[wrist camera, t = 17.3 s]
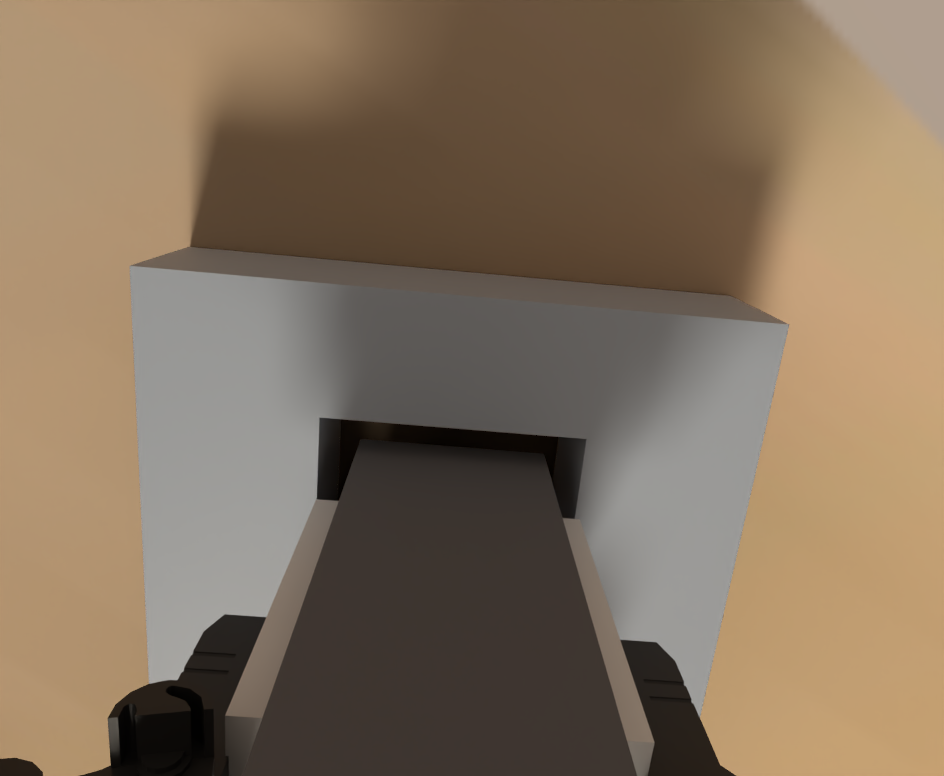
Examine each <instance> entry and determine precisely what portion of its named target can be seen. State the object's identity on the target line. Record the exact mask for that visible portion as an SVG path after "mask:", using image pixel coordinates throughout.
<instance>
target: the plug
mask: <svg viewBox="0 0 944 776" xmlns="http://www.w3.org/2000/svg"><path fill="white" fill-rule="evenodd" d="M242 776H637V774H636V770H635V767H634V763H633V760H632V756H631V753H630V749H629V746H628V742H627V739H626V736H625V732H624V729H623V725H622V722H621V718H620V715H619V711H618V708H617V704H616V701H615V698H614V694H613V691H612V687H611V684H610V680H609V677H608V673H607V670H606V666H605V663H604V660H603V656H602V653H601V649H600V646H599V642H598V639H597V635H596V632H595V628H594V625H593V622H592V618H591V615H590V611H589V608H588V604H587V601H586V597H585V594H584V590H583V587H582V584H581V580H580V577H579V573H578V570H577V566H576V563H575V559H574V556H573V552H572V549H571V546H570V542H569V539H568V535H567V532H566V528H565V525H564V521H563V518H562V514H561V511H560V508H559V504H558V501H557V497H556V494H555V490H554V487H553V483H552V480H551V476H550V473H549V470H548V466H547V463H546V459H545V456H544V454H542V453H529V452H517V451H504V450H492V449H480V448H467V447H455V446H442V445H430V444H417V443H405V442H392V441H380V440H368V439H361V440H360V442H359V445H358V448H357V451H356V454H355V457H354V459H353V462H352V465H351V468H350V471H349V474H348V476H347V479H346V482H345V485H344V488H343V491H342V493H341V496H340V499H339V502H338V505H337V508H336V510H335V513H334V516H333V519H332V522H331V525H330V527H329V530H328V533H327V536H326V539H325V542H324V544H323V547H322V550H321V553H320V556H319V559H318V562H317V564H316V567H315V570H314V573H313V576H312V579H311V581H310V584H309V587H308V590H307V593H306V596H305V598H304V601H303V604H302V607H301V610H300V613H299V615H298V618H297V621H296V624H295V627H294V630H293V632H292V635H291V638H290V641H289V644H288V647H287V649H286V652H285V655H284V658H283V661H282V664H281V666H280V669H279V672H278V675H277V678H276V681H275V683H274V686H273V689H272V692H271V695H270V698H269V700H268V703H267V706H266V709H265V712H264V715H263V717H262V720H261V723H260V726H259V729H258V732H257V735H256V737H255V740H254V743H253V746H252V749H251V752H250V754H249V757H248V760H247V763H246V766H245V769H244V771H243V774H242Z"/></svg>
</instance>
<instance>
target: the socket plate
mask: <svg viewBox="0 0 944 776" xmlns="http://www.w3.org/2000/svg"><path fill="white" fill-rule="evenodd" d="M130 283H131V305H132V326H133V348H134V369H135V391H136V412H137V434H138V456H139V477H140V499H141V520H142V542H143V563H144V585H145V606H146V628H147V649H148V671H149V684H151V683H156V682H161V681H166V680H178V678H179V676H180V674H181V673H182V672H183V671H184V667H185V665H186V663H187V661H188V660H189V658H190V656H191V655H193V650H194V649H195V647H196V645H197V643H198V641H199V639H200V637H201V636H202V634H203V632H204V631H205V630H206V629H207V628H208V627H210V626H211V625H212V624H213V623H215V622H216V621H217V620H218V619H220V618H221V617H222V616H223V615H225V614H228V615H242V616H257V617H267V615H268V612H269V610H270V608H271V605H272V603H273V600H274V598H275V596H276V593H277V591H278V589H279V586H280V584H281V581H282V579H283V577H284V574H285V572H286V570H287V567H288V565H289V562H290V560H291V558H292V555H293V553H294V551H295V548H296V546H297V543H298V541H299V539H300V536H301V534H302V532H303V529H304V527H305V524H306V522H307V520H308V517H309V515H310V513H311V510H312V508H313V505H314V503H315V501H316V499H319V500H332V501H338V483H339V459H340V436H341V419H344V420H357V421H369V422H382V423H394V424H406V425H419V426H431V427H443V428H456V429H468V430H481V431H493V432H505V433H518V434H530V435H543V436H555V437H559V438H558V445H557V452H556V460H555V467H554V474H553V481H552V483H553V487H554V490H555V494H556V497H557V501H558V504H559V508H560V511H561V514H562V518H568V519H580V521H581V524H582V527H583V530H584V533H585V536H586V539H587V542H588V545H589V548H590V551H591V554H592V557H593V560H594V563H595V566H596V569H597V572H598V575H599V578H600V581H601V584H602V587H603V590H604V593H605V596H606V599H607V602H608V605H609V608H610V611H611V614H612V617H613V620H614V623H615V626H616V629H617V632H618V635H619V638H620V640H632V641H647V642H657V643H658V644H659V645H660V646H661V647H662V648H663V649H664V650H665V651H666V652H667V653H668V654H669V655H670V656H671V657H672V658H673V659H674V660H675V662H676V664H677V666H678V669H679V671H680V673H681V676H682V678H683V680H684V686H686V687H687V690H688V692H689V694H690V697H691V699H692V700H691V702H692V703H693V704H694V706H695V708H696V710H697V713H698V715H699V717H700V715H701V710H702V706H703V702H704V697H705V693H706V688H707V684H708V680H709V675H710V671H711V666H712V662H713V658H714V653H715V649H716V644H717V640H718V636H719V631H720V627H721V622H722V618H723V614H724V609H725V605H726V600H727V596H728V592H729V587H730V583H731V578H732V574H733V570H734V565H735V561H736V556H737V552H738V548H739V543H740V539H741V534H742V530H743V526H744V521H745V517H746V512H747V508H748V504H749V499H750V495H751V490H752V486H753V482H754V477H755V473H756V468H757V464H758V460H759V455H760V451H761V446H762V442H763V438H764V433H765V429H766V424H767V420H768V415H769V411H770V407H771V402H772V398H773V393H774V389H775V385H776V380H777V376H778V371H779V367H780V363H781V358H782V354H783V349H784V345H785V341H786V336H787V332H788V327H789V324H787V323H785V322H783V321H781V320H779V319H777V318H775V317H773V316H771V315H769V314H767V313H765V312H763V311H761V310H758V309H756V308H754V307H752V306H750V305H748V304H746V303H744V302H742V301H740V300H738V299H736V298H734V297H732V296H726V295H715V294H704V293H693V292H682V291H671V290H660V289H649V288H638V287H627V286H616V285H605V284H594V283H583V282H572V281H561V280H550V279H539V278H528V277H517V276H506V275H495V274H484V273H473V272H462V271H451V270H440V269H429V268H418V267H407V266H396V265H385V264H374V263H363V262H351V261H340V260H329V259H318V258H307V257H296V256H285V255H274V254H263V253H252V252H241V251H230V250H219V249H208V248H197V247H187V248H184V249H181V250H178V251H175V252H171V253H168V254H165V255H162V256H159V257H156V258H153V259H149V260H146V261H143V262H140V263H137V264H134V265H131V266H130Z"/></svg>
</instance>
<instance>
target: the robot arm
mask: <svg viewBox="0 0 944 776" xmlns="http://www.w3.org/2000/svg"><path fill="white" fill-rule="evenodd" d="M338 502H339V501H332V500H319V499H316V501H315V503H314V505H313V508H312V510H311V513H310V515H309V517H308V520H307V522H306V524H305V527H304V529H303V532H302V534H301V536H300V539H299V541H298V543H297V546H296V548H295V551H294V553H293V555H292V558H291V560H290V562H289V565H288V567H287V570H286V572H285V574H284V577H283V579H282V581H281V584H280V586H279V589H278V591H277V593H276V596H275V598H274V600H273V603H272V605H271V608H270V610H269V612H268V615H267V617H257V616H242V615H228V614H225V615H223V616H222V617H221V618H220V619H218V620H217V621H216V622H215V623H213V624H212V625H211V626H210V627H208V628H207V629H206V630H205V631H204V632H203V634H202V636H201V637H200V639H199V641H198V643H197V645H196V647H195V649H194V650H193V655H191V656H190V658H189V660H188V661H187V663H186V665H185V667H184V671H183V672H182V673H181V674H180V676H179V678H178V680H166V681H161V682H156V683H151V684H148V685H146V686H143V687H141V688H139V689H137V690H135V691H132V692H130V693H129V694H128V695H127V696H125V697H124V698H123V699H122V700H121V701H119V702H118V703H117V704H116V705H115V707H114V709H113V710H112V712H111V714H110V715H109V717H108V729H109V744H110V758H111V766H109V767H106V768H104V769H102V770H99V771H96V772H92V773H88V774H85V775H80V776H242V774H243V771H244V769H245V766H246V763H247V760H248V757H249V754H250V752H251V749H252V746H253V743H254V740H255V737H256V735H257V732H258V729H259V726H260V723H261V720H262V717H263V715H264V712H265V709H266V706H267V703H268V700H269V698H270V695H271V692H272V689H273V686H274V683H275V681H276V678H277V675H278V672H279V669H280V666H281V664H282V661H283V658H284V655H285V652H286V649H287V647H288V644H289V641H290V638H291V635H292V632H293V630H294V627H295V624H296V621H297V618H298V615H299V613H300V610H301V607H302V604H303V601H304V598H305V596H306V593H307V590H308V587H309V584H310V581H311V579H312V576H313V573H314V570H315V567H316V564H317V562H318V559H319V556H320V553H321V550H322V547H323V544H324V542H325V539H326V536H327V533H328V530H329V527H330V525H331V522H332V519H333V516H334V513H335V510H336V508H337V505H338ZM563 521H564V525H565V528H566V532H567V535H568V539H569V542H570V546H571V549H572V552H573V556H574V559H575V563H576V566H577V570H578V573H579V577H580V580H581V584H582V587H583V590H584V594H585V597H586V601H587V604H588V608H589V611H590V615H591V618H592V622H593V625H594V628H595V632H596V635H597V639H598V642H599V646H600V649H601V653H602V656H603V660H604V663H605V666H606V670H607V673H608V677H609V680H610V684H611V687H612V691H613V694H614V698H615V701H616V704H617V708H618V711H619V715H620V718H621V722H622V725H623V729H624V732H625V736H626V739H627V742H628V746H629V749H630V753H631V756H632V760H633V763H634V767H635V770H636V774H637V776H736V775H734V774H733V773H731V772H730V771H728V770H727V769H725V768H724V767H722V766H720V764H719V762H718V759H717V757H716V755H715V752H714V750H713V748H712V745H711V743H710V741H709V738H708V736H707V734H706V731H705V729H704V727H703V724H702V722H701V720H700V717H699V715H698V713H697V710H696V708H695V706H694V704H693V703H692V702H691V700H692V699H691V697H690V694H689V692H688V690H687V687H686V686H684V680H683V678H682V676H681V673H680V671H679V669H678V666H677V664H676V662H675V660H674V659H673V658H672V657H671V656H670V655H669V654H668V653H667V652H666V651H665V650H664V649H663V648H662V647H661V646H660V645H659V644H658V643H657V642H647V641H632V640H620V638H619V635H618V632H617V629H616V626H615V623H614V620H613V617H612V614H611V611H610V608H609V605H608V602H607V599H606V596H605V593H604V590H603V587H602V584H601V581H600V578H599V575H598V572H597V569H596V566H595V563H594V560H593V557H592V554H591V551H590V548H589V545H588V542H587V539H586V536H585V533H584V530H583V527H582V524H581V521H580V519H568V518H563ZM0 776H43V772H42V771H41V770H40V769H39V768H38V767H37V766H36V765H35V764H34V763H33V762H30V761H26V760H22V759H18V758H7V759H0Z"/></svg>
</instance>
